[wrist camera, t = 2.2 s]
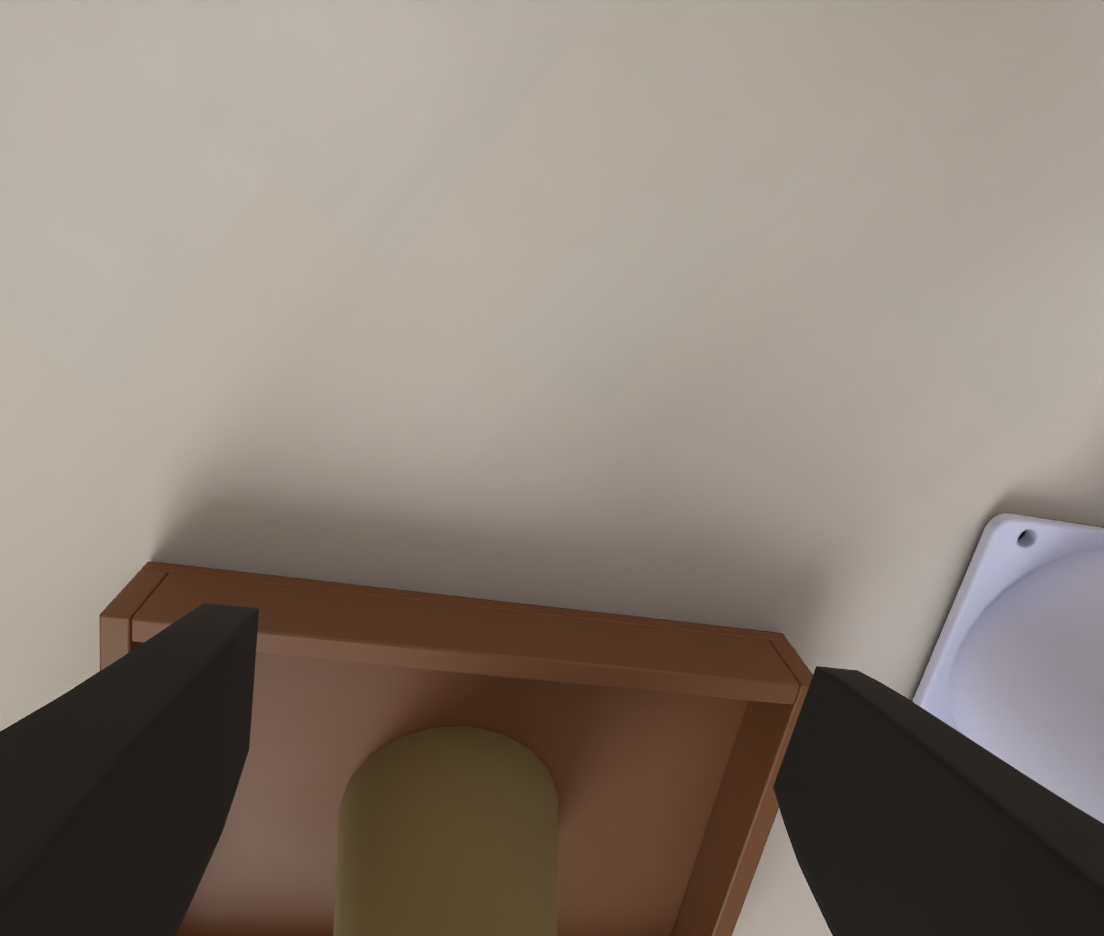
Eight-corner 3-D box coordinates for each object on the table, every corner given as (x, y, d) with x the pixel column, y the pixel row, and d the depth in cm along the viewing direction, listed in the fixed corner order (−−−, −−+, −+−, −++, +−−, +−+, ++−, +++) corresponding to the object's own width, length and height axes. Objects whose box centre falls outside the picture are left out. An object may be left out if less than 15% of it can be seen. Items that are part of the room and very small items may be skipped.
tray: (783, 633, 20) (824, 687, 17) (667, 976, 24) (688, 1056, 21) (147, 560, 17) (97, 614, 15) (141, 963, 21) (102, 1053, 19)
